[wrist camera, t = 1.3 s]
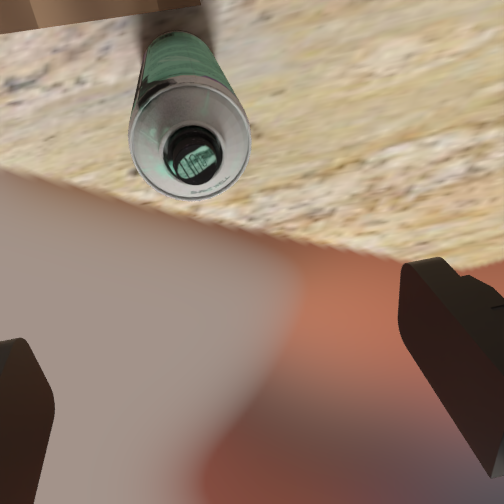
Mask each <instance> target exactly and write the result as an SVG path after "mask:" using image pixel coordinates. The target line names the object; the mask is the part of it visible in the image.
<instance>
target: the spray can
mask: <svg viewBox="0 0 504 504" xmlns="http://www.w3.org/2000/svg"><path fill="white" fill-rule="evenodd" d="M128 141H129V149H130V153H131V156H132V159H133V163H134V165H135V167H136V169H137V171H138V172H139V174H140V176H141V177H142V178H143V179H144V180H145V181H146V183H147V184H148V185H150V186H151V187H152V188H153V189H155V190H156V191H158V192H159V193H161V194H163V195H165V196H167V197H170V198H173V199H176V200H182V201H201V200H206V199H210V198H213V197H215V196H217V195H220V194H221V193H223V192H225V191H226V190H228V189H229V188H230V187H231V186H232V185H233V184H234V183H236V182H237V181H238V179H239V178H240V176H241V175H242V174H243V172H244V170H245V168H246V166H247V164H248V161H249V157H250V153H251V131H250V125H249V121H248V118H247V115H246V113H245V110H244V109H243V107H242V105H241V103H240V102H239V100H238V98H237V96H236V95H235V93H234V91H233V89H232V88H231V86H230V84H229V82H228V81H227V79H226V77H225V75H224V73H223V72H222V70H221V68H220V66H219V65H218V63H217V61H216V59H215V58H214V56H213V54H212V52H211V51H210V49H209V48H208V46H207V45H206V44H205V43H204V42H203V41H202V40H201V39H199V38H198V37H197V36H195V35H193V34H191V33H188V32H184V31H171V32H166V33H164V34H162V35H160V36H158V37H157V38H156V39H154V40H153V42H152V43H151V44H150V45H149V46H148V48H147V50H146V52H145V54H144V58H143V61H142V66H141V70H140V75H139V80H138V84H137V89H136V94H135V98H134V103H133V108H132V112H131V117H130V122H129V130H128Z"/></svg>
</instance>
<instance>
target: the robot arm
mask: <svg viewBox="0 0 504 504" xmlns="http://www.w3.org/2000/svg"><path fill="white" fill-rule="evenodd" d="M398 325H399V331H400V334H401V337H402V340H403V342H404V344H405V346H406V347H407V349H408V351H409V352H410V354H411V355H412V357H413V359H414V360H415V362H416V363H417V365H418V366H419V368H420V369H421V371H422V372H423V374H424V376H425V377H426V379H427V380H428V382H429V384H430V385H431V387H432V388H433V390H434V391H435V393H436V394H437V396H438V397H439V399H440V401H441V402H442V404H443V405H444V407H445V408H446V410H447V412H448V413H449V415H450V416H451V418H452V419H453V421H454V422H455V424H456V426H457V427H458V429H459V430H460V432H461V433H462V435H463V436H464V438H465V440H466V441H467V443H468V444H469V446H470V447H471V449H472V450H473V452H474V454H475V455H476V457H477V458H478V460H479V461H480V463H481V465H482V466H483V468H484V469H485V471H486V472H487V474H488V476H489V477H490V478H491V479H492V478H496V477H501V476H504V298H503V297H502V296H501V295H500V294H499V293H498V292H497V291H496V290H495V289H494V288H493V287H491V286H489V285H487V284H485V283H483V282H482V281H480V280H477V279H476V278H474V277H472V276H470V275H466V276H462V277H460V276H459V275H458V274H457V273H456V271H455V270H454V269H453V268H452V267H451V266H450V265H449V264H448V263H447V262H446V261H445V260H444V259H442V258H441V257H435V258H430V259H425V260H419V261H414V262H409V263H405V264H404V265H403V266H402V269H401V277H400V291H399V308H398ZM54 414H55V403H54V397H53V393H52V390H51V387H50V385H49V383H48V382H47V379H46V377H45V375H44V373H43V371H42V369H41V367H40V365H39V363H38V362H37V360H36V358H35V356H34V354H33V352H32V350H31V348H30V346H29V344H28V343H27V341H26V340H25V339H23V338H16V339H11V340H6V341H1V342H0V504H34V499H35V495H36V491H37V487H38V483H39V479H40V474H41V470H42V466H43V461H44V458H45V454H46V449H47V445H48V441H49V437H50V432H51V429H52V424H53V420H54Z"/></svg>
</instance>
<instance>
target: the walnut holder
mask: <svg viewBox="0 0 504 504" xmlns="http://www.w3.org/2000/svg"><path fill="white" fill-rule="evenodd" d="M198 5H201V3H200V0H0V34H6V33H12V32H19V31H26V30H33V29H40V28H47V27H54V26H60V25H67V24H74V23H81V22H88V21H95V20H102V19H108V18H115V17H122V16H129V15H136V14H143V13H150V12H156V11H163V10H170V9H177V8H184V7H191V6H198Z"/></svg>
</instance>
